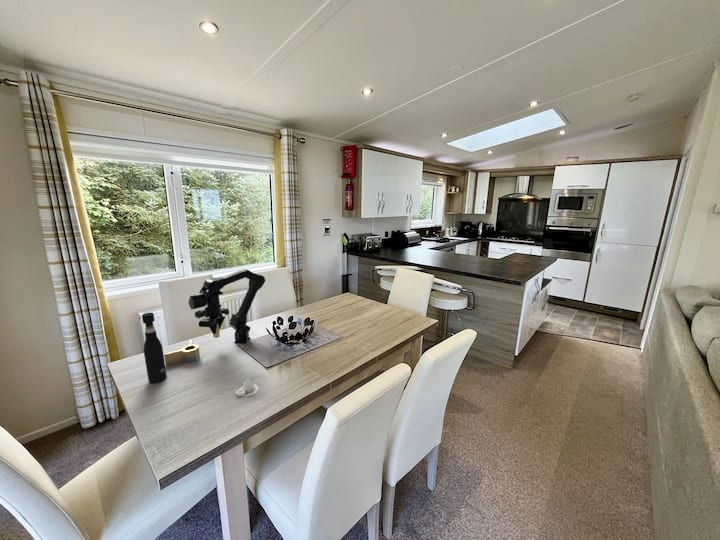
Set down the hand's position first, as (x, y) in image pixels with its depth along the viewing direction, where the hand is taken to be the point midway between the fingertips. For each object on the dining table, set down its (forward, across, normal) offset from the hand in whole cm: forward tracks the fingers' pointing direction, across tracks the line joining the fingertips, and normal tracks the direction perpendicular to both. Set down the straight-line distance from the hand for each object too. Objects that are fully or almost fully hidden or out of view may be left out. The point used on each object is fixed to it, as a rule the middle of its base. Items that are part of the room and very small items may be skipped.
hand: (216, 332), depth 147 cm
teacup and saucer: (+10, +31, +27) cm, 42 cm away
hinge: (+10, +9, -10) cm, 17 cm away
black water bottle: (+10, +27, -12) cm, 31 cm away
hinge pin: (+2, 0, 0) cm, 2 cm away
